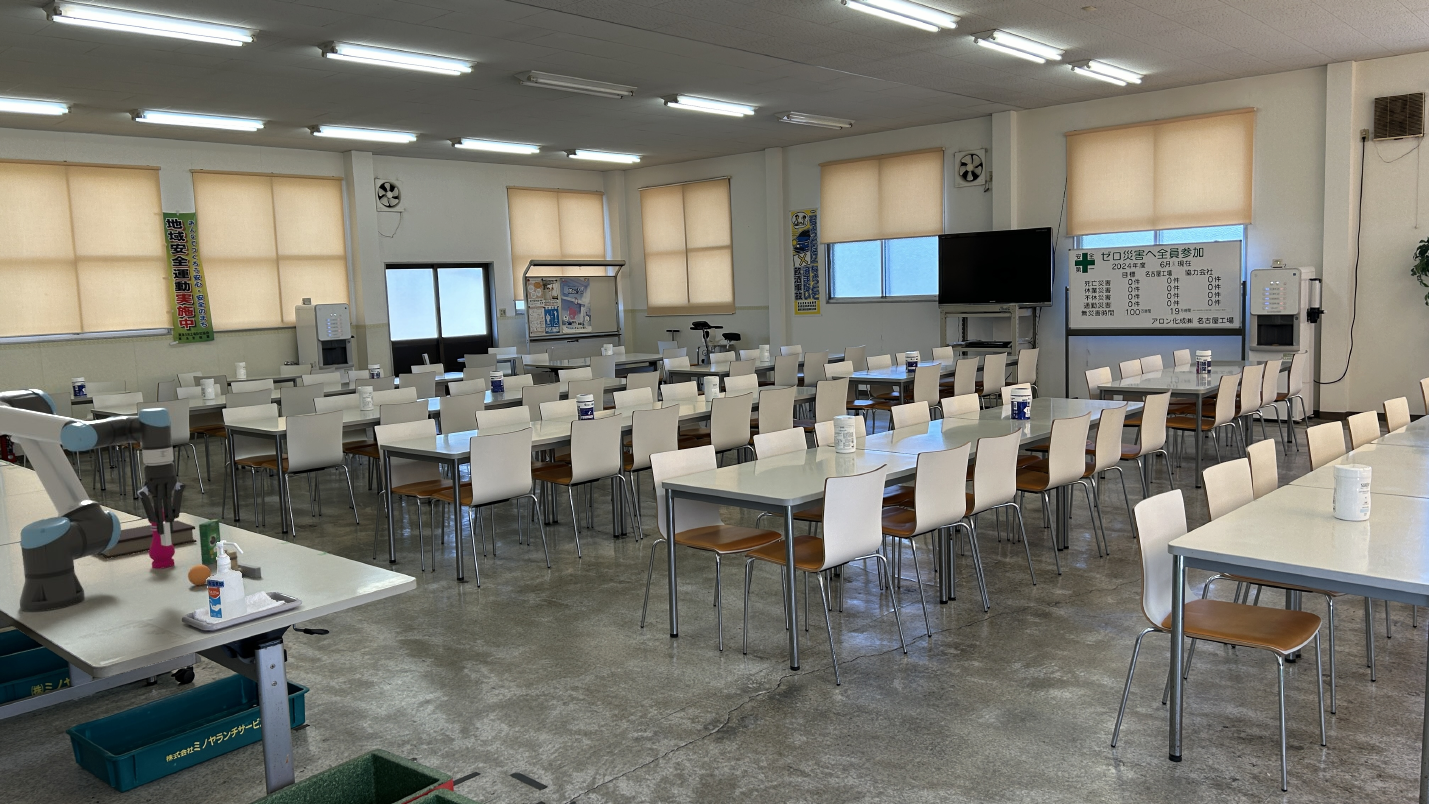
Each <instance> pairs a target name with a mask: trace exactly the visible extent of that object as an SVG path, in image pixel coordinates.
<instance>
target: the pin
mask: <svg viewBox="0 0 1429 804" xmlns="http://www.w3.org/2000/svg"><path fill="white" fill-rule="evenodd" d="M228 556H229V557H230V560H231V569H232V570H235V571H238V562H239V561H238V551H236V550H231V551H228Z"/></svg>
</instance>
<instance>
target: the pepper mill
mask: <svg viewBox="0 0 1429 804" xmlns="http://www.w3.org/2000/svg"><path fill="white" fill-rule="evenodd" d="M163 517H164V509H163ZM147 521H148V523H150V525H151V526H150V527H151V530H152V532H153V540H152V544H151V546H150V550H149V551H148V555H149V558H150V559H151V560H152V561H151V568H152V569H154V568H155V570H157V569H160V568H161V569H166V568H171V567H173V566H174V565H175V559H174V558H173V557H174V555H175V553H176V550H175V546H173V544H172V543H171V544H172V545H169V546H164V545H161V535H159V534H158V533H157V525H156V523H154V522H149V520H148V519H147ZM164 522H166V521H165V519H164Z"/></svg>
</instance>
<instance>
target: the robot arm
mask: <svg viewBox="0 0 1429 804" xmlns="http://www.w3.org/2000/svg"><path fill="white" fill-rule="evenodd" d="M56 411H57V407H56V405H55V402H54V400H53V399H52V397H51V396H50V395H49V394H48V393H46V392H45V391H43V390H40V389H36V388H31V389H28V388H21V389H20V388H19V389H16V390H15V389H14V390H7V391H0V436H3V435H7V436H8V437H9V440H10V442H12V443H13V442H14V443H16V444H19V445H20V446H21V449H22V450H23V452H24V454H25V456H26V457H27V459H28V461H29V462H30V464H31V466H32V468H33V470H34V471H35V473H36V475H37V477H38V479H39V481H40V482H41V485H42V487H43V488H44V489H45V491H46V494H47V495H48V497H49V499H50V500H51V502H52V504H53V507H55V510H56V511H57V513H58V514H57V516H53V517H49V518H43V519H39V520H37V521H33V522H31V523H29V524H26V525H25V526H24V527H23V528H22V529H21V531H20V542H19V543H20V544H19V545H20V547H21V556H22V565H23V573H24V575H23V576H24V584H23V586H22V591H21V594H20V599H19V609H20V610H21V611H22V612H23V611H25V612H41V611H50V610H57V609H61V608H62V609H63V608H66V607H69V606H73V605H75V604H79V603H81V602H82V601H84V600H85V598H86V597H85V590H84V587H83V586H82V584H81V582H80V580H79V579H78V576H77V574H76V572H75V570H76V569H75V560H76V561H77V560H78V559H79V560H80V559H82V558H85V557H89V556H92V555H96V554H97V555H98V553H102V552H103V551H106V550H108V549H111V548H112V547H114V546H115V545H116V543H117V542H118V540H119V538H120V534H121V530H122V526H121V522H120V519H119V517H118V516H117V515H116V513H115V512H112V511H111V510H105V509H103V508H102V506H101V504H100V503H99V502H98V501H95V500H91V498H90V497H89V496H88V493H87V491H86V489H85V488H84V486H83V485H82V482H81V480H80V479H79V477H78V476H77V473H76V471H75V470H74V468H73V466H72V465H71V463H70V461H69V459H68V457H67V456H66V454H65V452H64V450H63V448H62V447H64V448H66V449H67V450H68V451H70V452H84V451H89V450H94V449H99V448H104V447H109V446H116V445H121V444H126V443H141V450H142V451H141V452H142V453H141V454H142V463H143V464H144V466H143V471H144V473H143V474H144V479H145V481H144V484H143V487H142V488H141V489H140V490H137V491H136V492H135V494H136V495H137V496H138V497H139V498H140V501H141V503H142V507H143V509H144V511H145V515H146V517H147V521H148V520H149V521H148V523H149V522H154V523H156V525H157V533H158V534H159V535H161V545H164V546H169V545H172V544H171V533H172V532H173V522H174V521H175V520H177V519H179V517H180V514H181V513H180V512H181V505H182V501H183V493H184V491H185V489H186V487H187V486H186V484H185V483H181V482H179V481H178V480H177V477H176V471H175V470H176V469H175V463H174V462H173V461H174V450H173V440H172V439H173V438H172V426H171V425H172V422H171V418H170V417H171V416H170V412H169V410H168V409H167V408H164V407H158V408H156V407H155V408H154V407H153V408H145V409H141V410H139V411H138V415H121V414H120V415H114V416H109V417H107V418H103V419H96V420H83V419H77V418H71V417H66V416H62V415H61V416H60V415H57V413H56ZM61 446H62V447H61ZM173 490H174V492H173V493H172V491H173ZM149 493H150V494H151V498H152V501H151V499H150V497H149V496H148V495H149ZM172 494H173V495H172ZM172 496H173V497H172ZM152 502H153V505H152ZM163 510H164V517H163ZM164 519H165V521H166V522H164Z"/></svg>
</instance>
